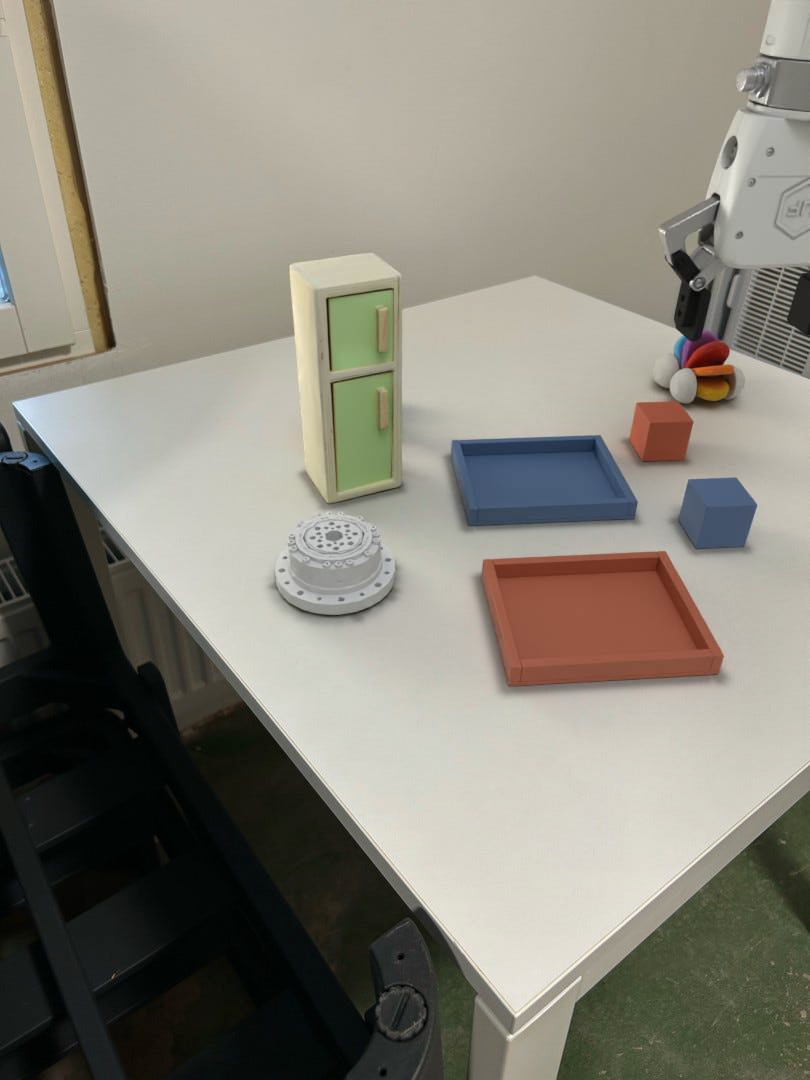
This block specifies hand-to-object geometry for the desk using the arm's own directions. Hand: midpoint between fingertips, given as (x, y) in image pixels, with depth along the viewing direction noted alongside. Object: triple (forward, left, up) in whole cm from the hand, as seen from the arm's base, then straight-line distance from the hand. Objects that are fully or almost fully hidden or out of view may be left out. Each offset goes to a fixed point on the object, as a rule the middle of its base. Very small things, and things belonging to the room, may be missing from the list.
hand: (744, 331), depth 65 cm
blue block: (-1, +2, -18) cm, 19 cm away
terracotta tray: (+13, +13, -18) cm, 26 cm away
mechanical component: (+33, +6, -19) cm, 39 cm away
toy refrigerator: (+31, -9, -19) cm, 37 cm away
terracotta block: (-1, -13, -18) cm, 23 cm away
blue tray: (+13, -7, -18) cm, 24 cm away
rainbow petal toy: (-10, -26, -19) cm, 34 cm away
